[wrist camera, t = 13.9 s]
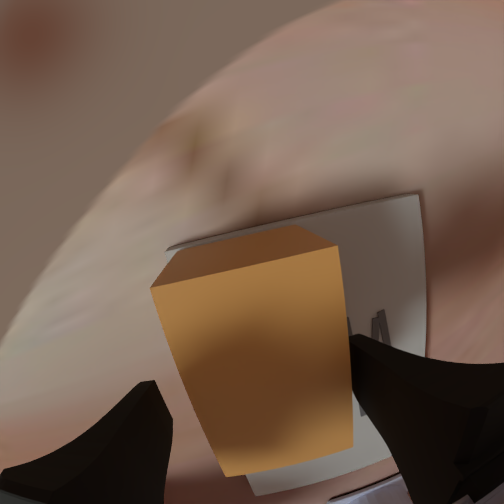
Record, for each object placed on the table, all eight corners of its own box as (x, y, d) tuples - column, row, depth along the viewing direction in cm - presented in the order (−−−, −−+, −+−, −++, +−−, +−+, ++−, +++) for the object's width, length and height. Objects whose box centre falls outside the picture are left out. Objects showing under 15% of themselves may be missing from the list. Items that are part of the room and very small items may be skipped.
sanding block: (319, 380, 14) (353, 446, 10) (223, 402, 14) (226, 477, 9) (295, 224, 13) (337, 245, 8) (177, 250, 13) (149, 288, 8)
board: (407, 438, 18) (413, 446, 17) (254, 486, 17) (255, 497, 16) (407, 193, 14) (419, 194, 13) (168, 247, 14) (164, 252, 12)
